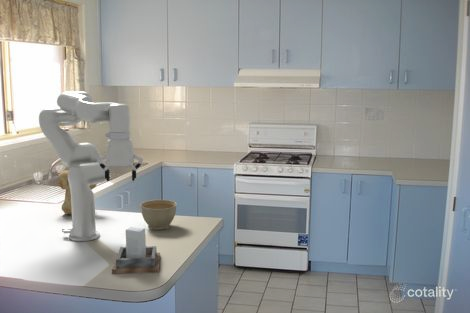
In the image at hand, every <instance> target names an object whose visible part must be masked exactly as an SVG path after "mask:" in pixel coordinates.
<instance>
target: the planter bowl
mask: <svg viewBox="0 0 470 313" xmlns="http://www.w3.org/2000/svg"><path fill="white" fill-rule="evenodd" d="M177 206H178V205H177V202H176V201H173V200H169V199H151V200H147V201H143V202H142V203H140V209H141V215H142V218H143V220H144V221H145V224H147V225H148V228H149V229H151V230H156V231H161V230H167V229H168V228H170V225H171V223H172V222H173V220H174V219H175V216H176V211H177Z"/></svg>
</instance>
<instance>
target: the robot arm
mask: <svg viewBox="0 0 470 313" xmlns="http://www.w3.org/2000/svg"><path fill="white" fill-rule="evenodd" d="M56 104H57V106H51V107H47V108H43V109H42V110H41V111H40V112H39V115H38V123H39V128H40V130H41V132H42V133H43V135H44V136H45V137H46V139H47V140H48V141H49V142H50V144H51V145H52V147H53V148H54V150H55V152H56V154H57V156H58V158H59V159H60V161H61V162H62V164H63V165H64V166H66V167H70V168H69V169H68V181H69V185H70V191H71V206H72V215H71V226H70V227H62V228H61V229H62V230H61V232H62V233H63V234H68V238H69V240H71V241H73V242H87V241H88V242H89V241H92V240H96V239H98V238H100V236H101V233H100V232H99V231H98V230H97V227H96V201H95V197H96V196H95V193H94V192H93V189H92V190H91V189H90V187H89V186H90V185H94V184H97V185H99V184H103V183H105V182H109V181H110V180H111V178H110V176H111V175H110V167H130V168H131V169H132V170H131V181H132V182H134V181H135V180H136V179H137V169H139V168H140V167H141V165H142V163H143V161H144V158H142V157H141V156H138V155H136V154H134V147H133V146H134V145H133V140H132V139H131V138H130V136H131V132H130V131H131V128H130V127H131V126H130V107H129V104H127V103H117V102H111V101H110V102H108V101H107V102H94V99H93V98H92V95H91V94H90V93H89V92H86V91H65V92H62V93H60V94H59V95H58V97H57V100H56ZM82 121H83V122H86V123H91V124H97V123H108V127H109V132H108V133H105V138H109V139H108V140H107V142H106V152H105V154H104V155H103V156H102V155H101V152H99V150H98V148H97V147H96V146H95V145H94V144H93V143H90V142H79V143H77V142H76V141H75V140H74V139H73V137H72V136H71V134H70V133H69V132H68V131H66V130H65V129H63V128H62V127H69V126H70V127H71V126H76V125H78V124H79V123H81V122H82ZM135 160H137V161H138V162H137V164H136V165H135V164H134V162H135Z"/></svg>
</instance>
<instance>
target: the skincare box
mask: <svg viewBox="0 0 470 313" xmlns="http://www.w3.org/2000/svg"><path fill="white" fill-rule="evenodd" d="M146 242H147V241H146V228H144V227H134V226H131V227H129V228H127V229H125V247H126V258H146Z"/></svg>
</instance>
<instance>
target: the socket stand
mask: <svg viewBox="0 0 470 313" xmlns="http://www.w3.org/2000/svg"><path fill="white" fill-rule="evenodd" d="M160 259H161V252H157V245H156V246H155V245H154V246H146V258H126V246H120V247H119V250H118V253H117V254H116V257H115V260H114V263H113V265H112V268H111V274H113V275H114V274H116V275H117V274H138V273H139V274H140V273H141V274H143V273H144V274H145V273H146V274H147V273H159V269H160Z"/></svg>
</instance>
